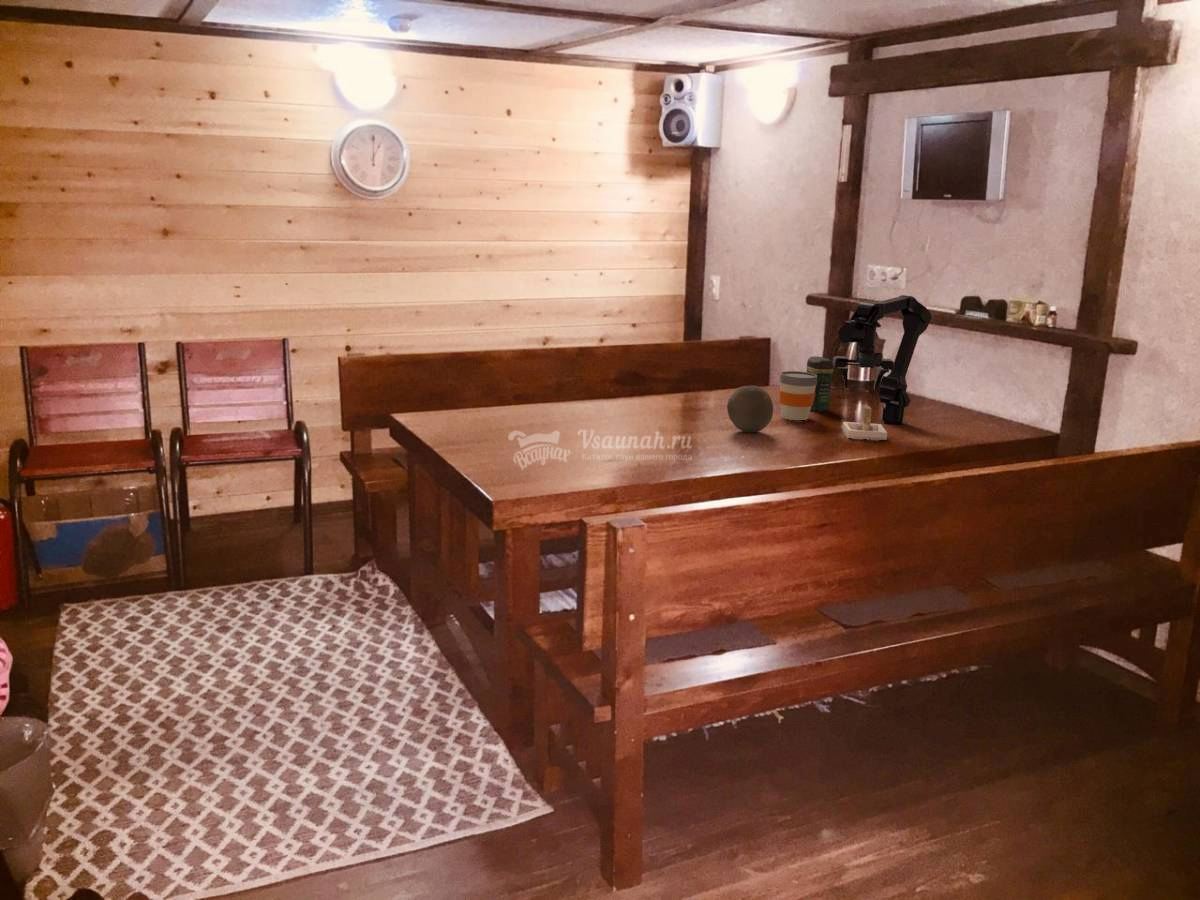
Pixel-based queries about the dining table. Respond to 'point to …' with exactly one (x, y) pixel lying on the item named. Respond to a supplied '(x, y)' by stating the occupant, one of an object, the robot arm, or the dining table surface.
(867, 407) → the tan cuboid brick
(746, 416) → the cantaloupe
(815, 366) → the coffee jar
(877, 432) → the dish
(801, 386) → the reusable coffee cup
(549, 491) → the dining table surface
